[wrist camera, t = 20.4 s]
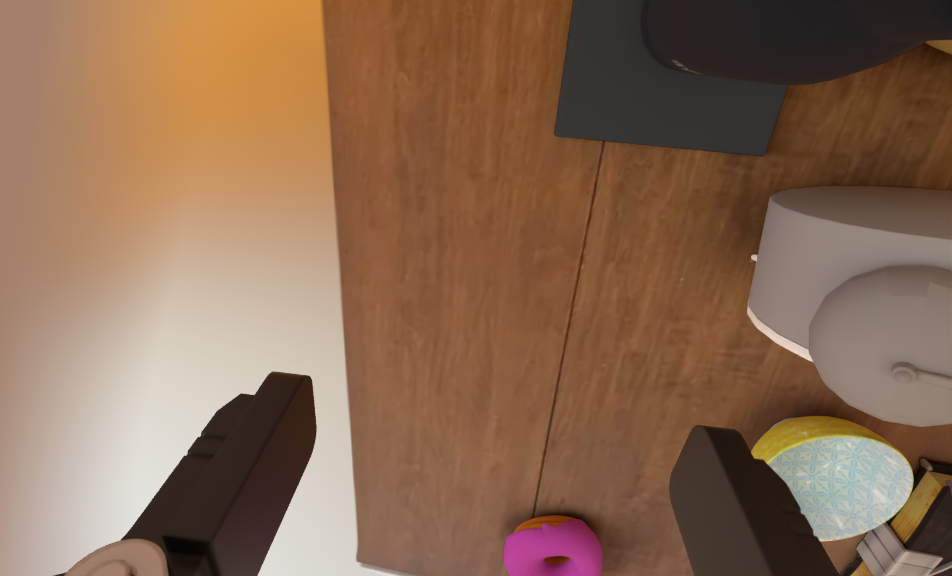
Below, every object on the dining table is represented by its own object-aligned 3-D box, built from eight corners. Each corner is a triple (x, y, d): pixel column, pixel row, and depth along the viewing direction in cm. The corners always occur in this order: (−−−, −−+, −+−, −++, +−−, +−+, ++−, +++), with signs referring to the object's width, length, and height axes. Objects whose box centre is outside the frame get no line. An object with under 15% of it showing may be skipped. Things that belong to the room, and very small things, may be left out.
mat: (554, 134, 34) (554, 136, 33) (596, -164, 27) (598, -171, 26) (758, 153, 33) (764, 156, 32) (859, -150, 26) (871, -157, 25)
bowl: (836, 362, 39) (885, 413, 34) (883, 454, 42) (935, 514, 37) (702, 417, 43) (726, 471, 37) (755, 497, 46) (784, 557, 41)
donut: (598, 571, 54) (603, 613, 50) (508, 566, 55) (505, 607, 51) (601, 506, 49) (607, 547, 45) (502, 502, 51) (499, 542, 47)
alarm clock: (698, 275, 37) (879, 524, 18) (721, 162, 33) (983, 318, 14) (931, 281, 35) (1422, 566, 16) (983, 163, 32) (1714, 343, 12)
